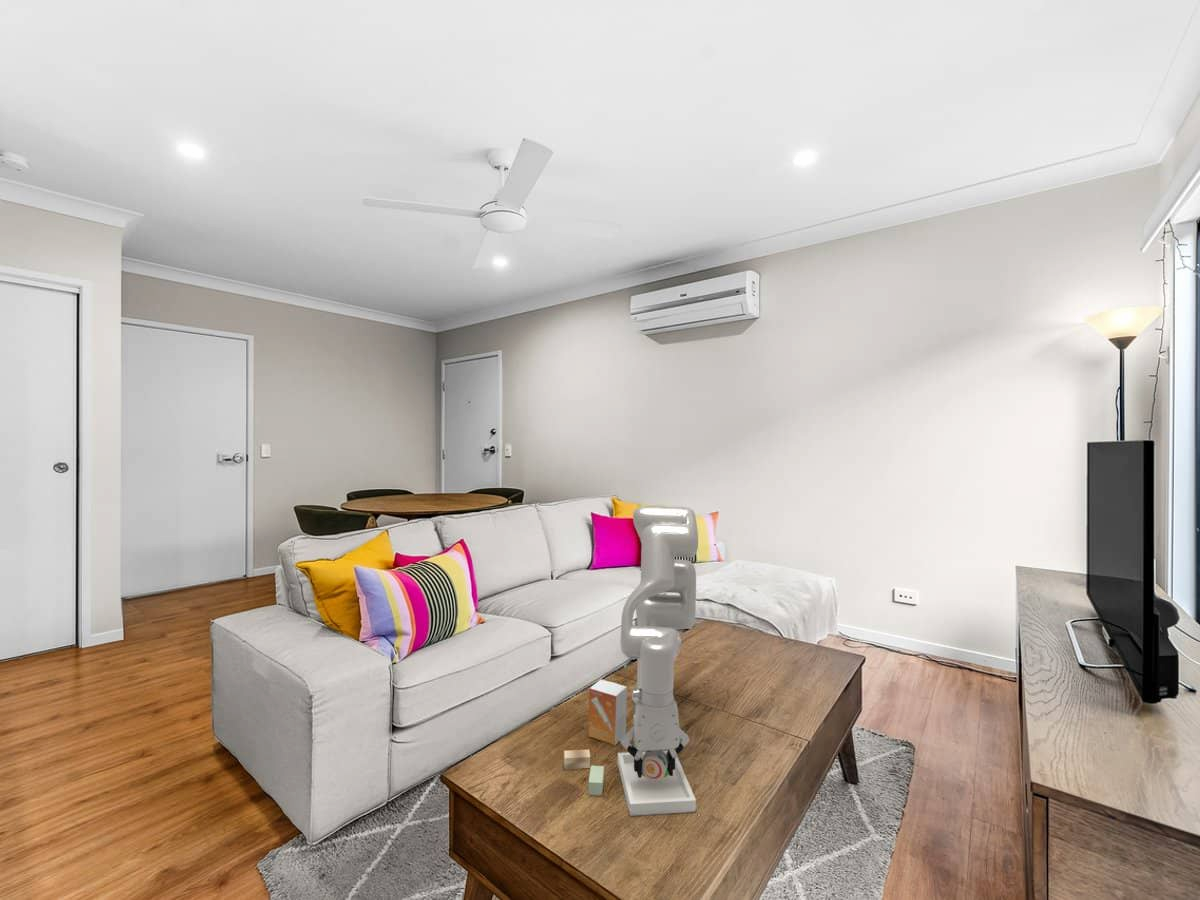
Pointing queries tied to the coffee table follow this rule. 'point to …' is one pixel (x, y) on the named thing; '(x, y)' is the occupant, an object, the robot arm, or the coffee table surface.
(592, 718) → the small box
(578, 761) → the maple block
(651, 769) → the roller toy
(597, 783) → the sage block
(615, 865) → the coffee table surface
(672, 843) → the coffee table surface
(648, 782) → the tray
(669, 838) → the coffee table surface
